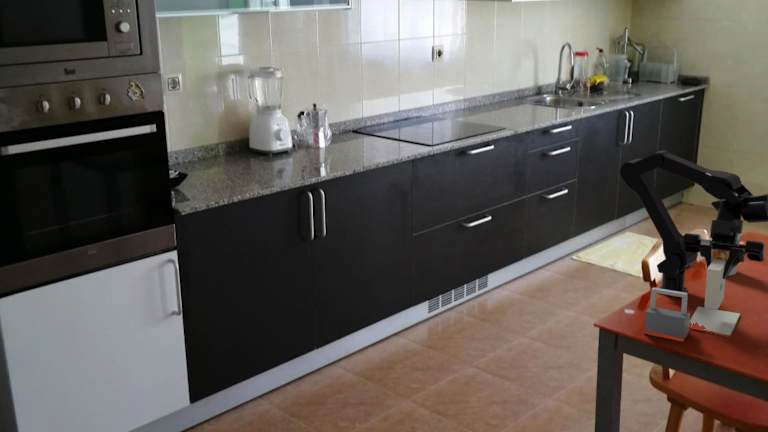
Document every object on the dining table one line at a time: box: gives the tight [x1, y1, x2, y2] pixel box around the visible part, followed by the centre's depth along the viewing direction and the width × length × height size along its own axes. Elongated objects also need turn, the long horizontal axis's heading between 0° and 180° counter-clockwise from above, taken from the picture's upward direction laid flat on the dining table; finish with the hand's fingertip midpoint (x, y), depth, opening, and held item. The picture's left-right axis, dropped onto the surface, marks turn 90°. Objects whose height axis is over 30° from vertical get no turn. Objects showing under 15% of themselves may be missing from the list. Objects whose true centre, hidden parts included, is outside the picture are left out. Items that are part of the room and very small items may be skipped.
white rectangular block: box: [704, 259, 727, 310], centre depth 193 cm, size 8×3×10 cm, turn 148°
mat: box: [690, 306, 741, 336], centre depth 196 cm, size 14×10×1 cm
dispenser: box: [644, 287, 691, 339], centre depth 189 cm, size 6×9×11 cm, turn 58°
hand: (716, 277), depth 193 cm, fingers closed on white rectangular block, 3 cm apart
